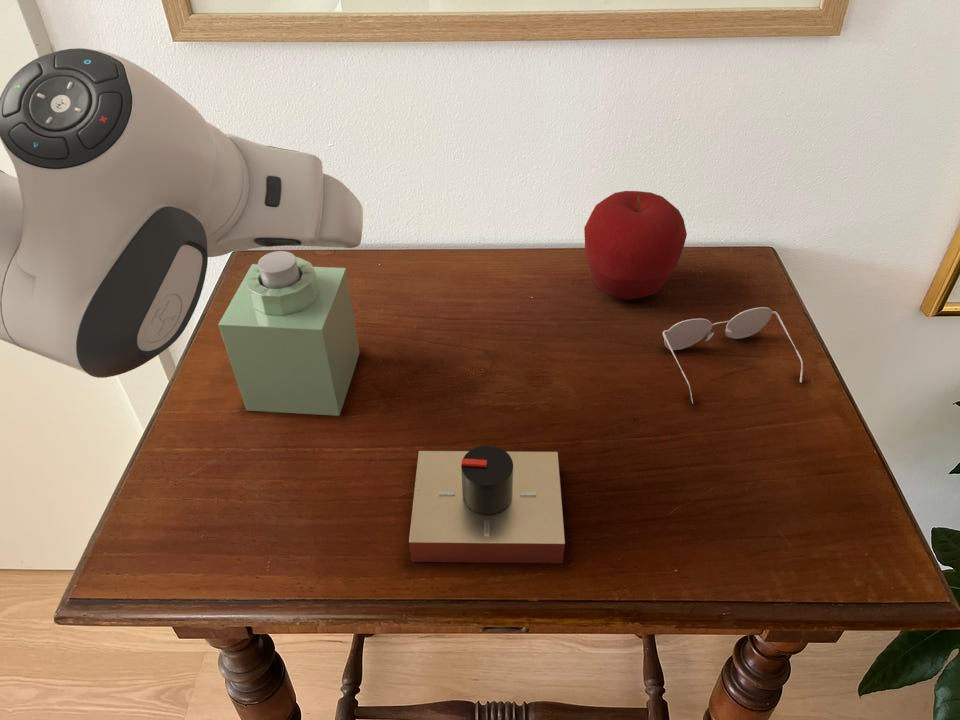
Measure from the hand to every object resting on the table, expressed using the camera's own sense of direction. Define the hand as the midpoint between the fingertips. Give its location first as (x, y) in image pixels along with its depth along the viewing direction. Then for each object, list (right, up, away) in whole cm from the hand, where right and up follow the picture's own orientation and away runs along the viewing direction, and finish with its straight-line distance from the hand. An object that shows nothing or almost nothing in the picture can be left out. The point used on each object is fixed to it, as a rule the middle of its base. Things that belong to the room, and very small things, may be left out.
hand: (268, 236), depth 66 cm
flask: (0, -14, +13) cm, 19 cm away
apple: (+38, -3, +24) cm, 45 cm away
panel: (+20, -25, -1) cm, 32 cm away
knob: (+20, -23, -3) cm, 31 cm away
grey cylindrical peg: (0, -3, +4) cm, 5 cm away
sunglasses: (+47, -12, +14) cm, 50 cm away
